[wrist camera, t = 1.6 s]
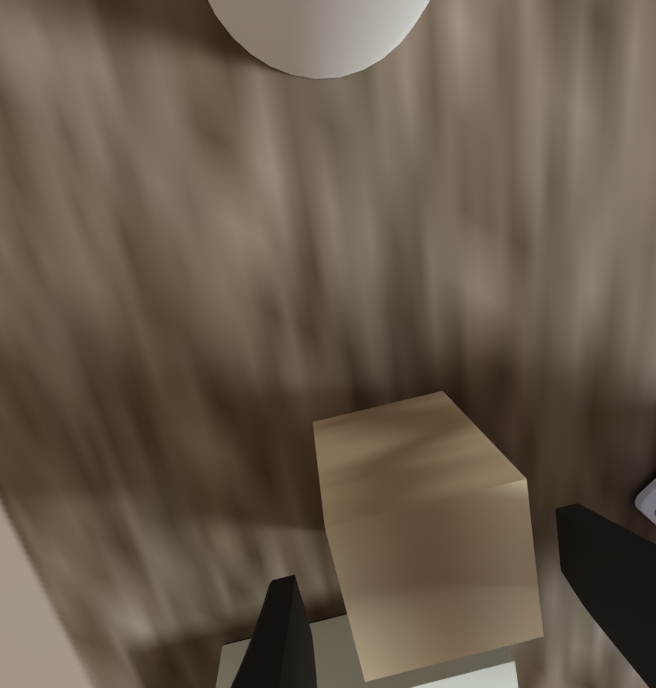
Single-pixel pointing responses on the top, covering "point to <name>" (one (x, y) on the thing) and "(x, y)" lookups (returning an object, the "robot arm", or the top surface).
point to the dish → (348, 681)
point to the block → (426, 535)
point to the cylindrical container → (319, 32)
